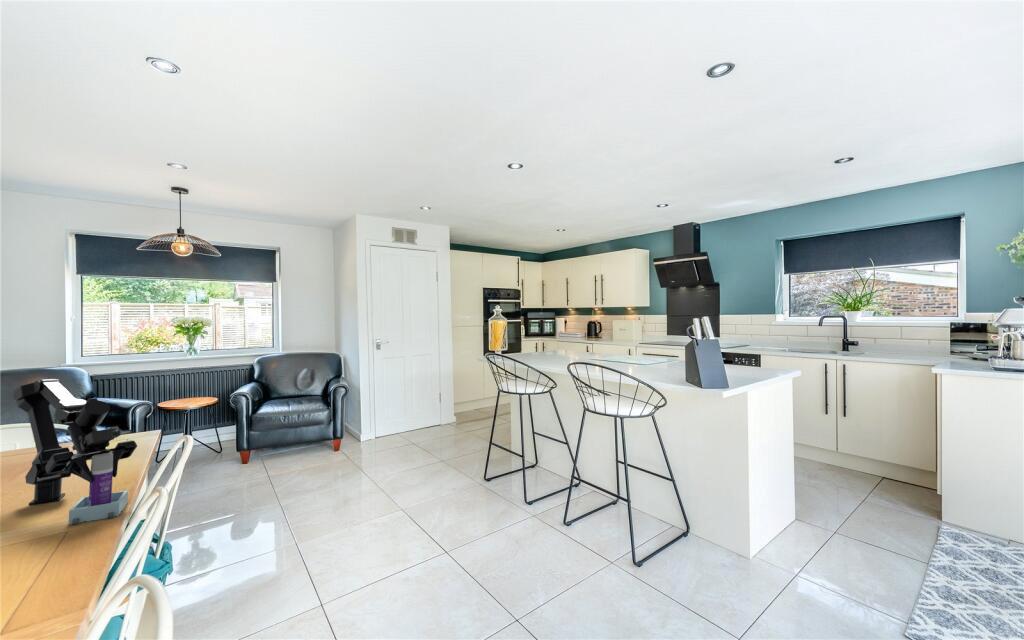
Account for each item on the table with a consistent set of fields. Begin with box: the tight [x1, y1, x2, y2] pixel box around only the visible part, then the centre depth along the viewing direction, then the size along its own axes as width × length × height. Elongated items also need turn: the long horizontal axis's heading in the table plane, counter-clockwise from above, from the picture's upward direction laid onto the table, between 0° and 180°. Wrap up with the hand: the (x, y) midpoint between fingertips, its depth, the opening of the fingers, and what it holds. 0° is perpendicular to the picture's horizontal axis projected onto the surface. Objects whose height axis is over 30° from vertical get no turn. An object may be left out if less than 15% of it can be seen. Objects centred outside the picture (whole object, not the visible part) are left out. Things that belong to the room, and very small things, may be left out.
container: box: [88, 453, 114, 507], centre depth 120 cm, size 5×5×15 cm
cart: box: [68, 490, 129, 526], centre depth 120 cm, size 15×10×4 cm
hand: (104, 478), depth 120 cm, fingers open, 5 cm apart
